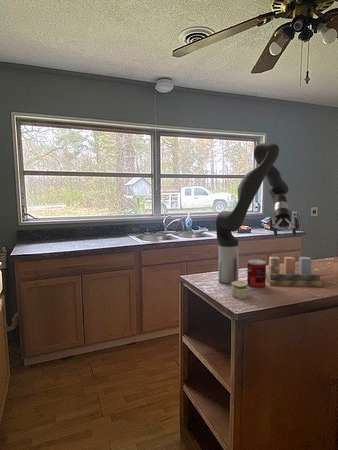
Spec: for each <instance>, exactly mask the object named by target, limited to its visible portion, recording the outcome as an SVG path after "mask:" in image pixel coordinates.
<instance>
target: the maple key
mask: <svg viewBox="0 0 338 450" xmlns="http://www.w3.org/2000/svg"><path fill="white" fill-rule="evenodd" d="M268 259H269V260H268V272H269V273H270V274H279V273H280V272H281V271H280V269H281V268H280V262H281V258H279V257H278V256H269V257H268Z"/></svg>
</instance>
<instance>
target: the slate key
mask: <svg viewBox="0 0 338 450" xmlns="http://www.w3.org/2000/svg"><path fill="white" fill-rule="evenodd" d="M298 265H299V266H298V272H299V274H311V273H312V258H311V257H309V256H299V261H298Z"/></svg>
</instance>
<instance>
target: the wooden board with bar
mask: <svg viewBox="0 0 338 450" xmlns="http://www.w3.org/2000/svg"><path fill="white" fill-rule="evenodd" d="M266 281H267V283H268V284H269V286H271V287H272V286H274V287H276V286H277V287H314V286H315V287H317V288H319V287H320V288H321V287H323V286H324V285H323V284H324V283H323V281H322V280H321V275H320V274H319V273H317V274H316V273H315V274H313V273H312V272H311V274H299V271H295V274H284V271H280V273H279V274H270V273H269V271H266Z"/></svg>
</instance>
